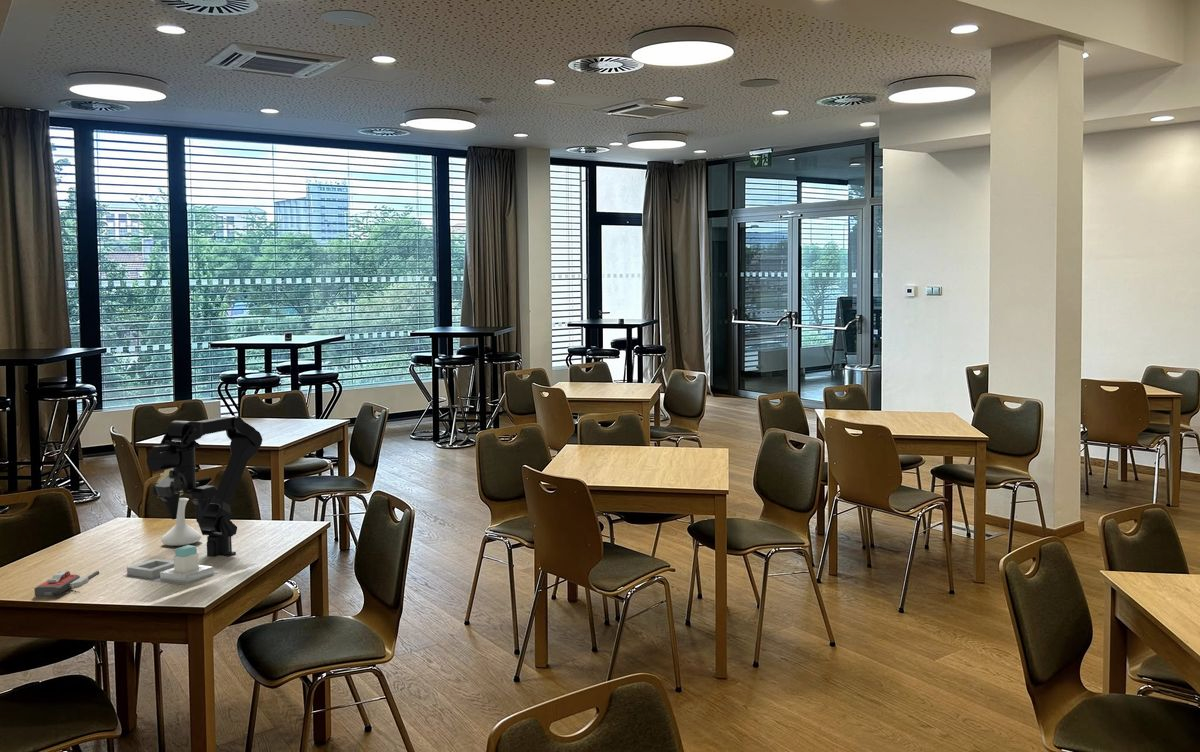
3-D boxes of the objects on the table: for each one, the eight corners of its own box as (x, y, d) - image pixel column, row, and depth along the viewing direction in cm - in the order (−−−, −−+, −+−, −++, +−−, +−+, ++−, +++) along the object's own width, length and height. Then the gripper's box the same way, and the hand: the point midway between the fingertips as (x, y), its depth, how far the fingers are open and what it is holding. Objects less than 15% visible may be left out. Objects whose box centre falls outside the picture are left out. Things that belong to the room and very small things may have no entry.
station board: (122, 578, 263) (121, 575, 263) (158, 567, 274) (157, 564, 274) (183, 588, 254) (183, 585, 254) (218, 575, 265) (218, 572, 265)
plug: (174, 578, 260) (173, 549, 260) (189, 573, 265) (188, 544, 264) (184, 580, 259) (183, 550, 258) (199, 575, 263) (197, 545, 263)
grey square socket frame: (127, 574, 264) (126, 567, 264) (155, 565, 273) (155, 558, 272) (151, 578, 260) (151, 571, 260) (179, 569, 269) (179, 562, 269)
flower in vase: (183, 537, 307) (180, 459, 305) (209, 541, 302) (207, 461, 300) (148, 547, 295) (144, 465, 293) (175, 551, 290) (172, 468, 288)
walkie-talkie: (66, 600, 246) (102, 577, 266) (65, 582, 246) (101, 561, 265) (30, 600, 246) (69, 577, 265) (29, 583, 245) (68, 561, 265)
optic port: (160, 579, 259) (159, 572, 259) (188, 570, 268) (187, 563, 268) (185, 583, 256) (185, 575, 256) (213, 573, 264) (213, 566, 264)
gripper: (135, 468, 269) (138, 523, 270) (186, 472, 261) (189, 530, 263) (167, 461, 279) (170, 515, 280) (218, 466, 272) (220, 521, 273)
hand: (186, 520), depth 274 cm, fingers open, 9 cm apart
